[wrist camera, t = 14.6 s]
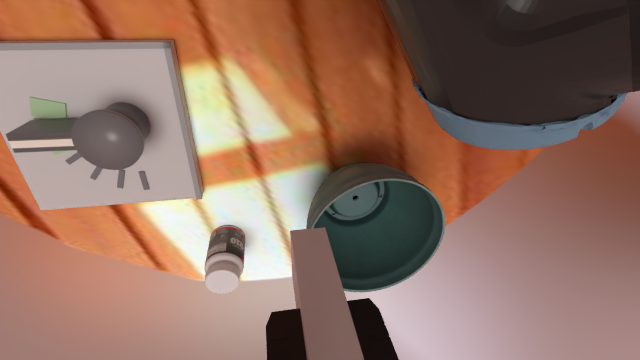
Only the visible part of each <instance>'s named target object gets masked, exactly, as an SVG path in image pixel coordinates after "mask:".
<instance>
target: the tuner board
mask: <svg viewBox="0 0 640 360" xmlns="http://www.w3.org/2000/svg"><path fill="white" fill-rule="evenodd" d="M29 97H35V98H40V99H46V100H51V101H56V102H62V103H66V107H67V119H79V118H80V117H81V116H83V115H84V114H86V113H88V112H90V111H93V110H99V109H105V108H107V107H108V106H109V105H111V104H114V103H119V102H124V103H129V104H132V105H134V106H136V107H138V108H139V109H141V110H142V111H143V112H144V113H145V115H146V116H147V117H148V120H149V122H150V133H149V135H148V136H147V138H146V139H145V140H144V151H143V153H142V155H141V157H140V158H139V159H138V161H137V162H136V163H135V164H133V165H132V166H130V167H128V168H125V169H121V170H125V177H124V186H123V189H122V188H117V182H118V172H119V170H108V169H102V171H101V172H100V174H99V176H98V177H97V179H96V180H93V179H91V178H90V176H91V175H92V173H93V171H94V170H95V168H96V167H97V166H95V165H93V164H91V163H90V162H88V161H87V160H85V159H84V158H83V157H81V158H79V159H78V160H76V161H75V162H73V163H72V164H70V165H69V164H68V163H67V162H66V161H65V160H67V159H68V158H70V157H71V156H73V155H74V154H76V153H77V150H71V151H67V152H64V153H61V154H57V155H54V154H53V153H52V151H45V152H21V153H14V151H13V149H12V147H11V145H10V143H9V141H8V139H7V137H6V135H5V134H7V133H9V132H10V131H12V130H14V129H16V128H18V127H20V126H21V125H23V124H25V123H27V122H29V121H30V120H33V118H41V117H36V116H31V109H30V102H29ZM0 132H1V134H2V136H3V138H4V140H5V142H6V144H7V145H8V147H9V149H10V151H11V153H12V155H13V157H14V159H15V161H16V163H17V165H18V167H19V169H20V171H21V173H22V175H23V176H24V178H25V180H26V182H27V184H28V186H29V188H30V190H31V192H32V194H33V196H34V198H35V200H36V202H37V204H38V206H39V207H40V209H41V210H51V209H63V208H76V207H88V206H101V205H113V204H126V203H138V202H151V201H163V200H176V199H188V198H196V199H202V196H203V192H204V190H203V185H202V180H201V175H200V170H199V165H198V160H197V155H196V150H195V145H194V140H193V135H192V130H191V125H190V120H189V115H188V110H187V105H186V100H185V95H184V90H183V85H182V80H181V75H180V70H179V65H178V60H177V55H176V50H175V45H174V40H173V39H172V40H43V41H0ZM139 171H145V174H146V178H147V181H148V184H149V188H150V189H149V190H144V189H143V185H142V182H141V179H140V176H139V173H138V172H139Z"/></svg>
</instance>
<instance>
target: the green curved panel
mask: <svg viewBox="0 0 640 360" xmlns="http://www.w3.org/2000/svg"><path fill="white" fill-rule="evenodd" d="M29 102H30V109H31V116H36V117H41V118H33V120H52V119H67V107H66V103H62V102H56V101H51V100H46V99H40V98H35V97H29ZM68 151H71V150H68ZM64 152H67V151H52V153H53V154H54V155H57V154H61V153H64ZM81 157H82V156H81V155H80V154H79V153H78V152H77V153H76V154H74V155H73V156H71V157H70V158H68V159H67V160H65V161H66V162H67V163H68V164H69V165H70V164H72V163H73V162H75V161H76V160H78V159H79V158H81ZM102 169H103V168H100V167H96V168H95V170H94V171H93V173H92V175H91V176H90V178H91V179H93V180H96V179H97V177H98V176H99V174H100V172H101V171H102ZM138 173H139V176H140V179H141V182H142V185H143V189H144V190H149V189H150V188H149V184H148V181H147V178H146V174H145V171H139V172H138ZM124 177H125V170H119V172H118V182H117V188H122V189H123V186H124Z"/></svg>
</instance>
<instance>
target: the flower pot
mask: <svg viewBox="0 0 640 360" xmlns="http://www.w3.org/2000/svg"><path fill="white" fill-rule="evenodd" d="M380 195H381V197H380ZM353 196H357V197H358V198H357V199H353ZM334 212H335V213H334ZM332 213H334V214H332ZM323 227H325V229H326V232H327V236H328V239H329V242H330V246H331V249H332V253H333V256H334V259H335V263H336V266H337V270H338V273H339V276H340V280H341V283H342V286H343V290H344V291H349V292H371V291H376V290H381V289H385V288H388V287H391V286H394V285H396V284H398V283H400V282H402V281H404V280H406V279H408V278H409V277H411V276H413V275H414V274H415V273H417V272H418V271H419V270H421V268H423V267H424V266H425V265H426V264H427V262H428V261H429V260H430V259H431V258H432V257H433V256H434V254H435V253H436V251H437V249H438V247H439V245H440V243H441V241H442V238H443V235H444V230H445V215H444V210H443V208H442V205H441V203H440V201H439V200H438V198H437V197H436V196H435V195H434V194H433V193H432V192H431V191H430V190H429V189H428V188H427V187H425V186H424V185H423V184H421V183H419V182H418V181H417V180H416V179H414V178H413V177H412V176H410V175H408V174H407V173H405V172H403V171H401V170H399V169H397V168H394V167H391V166H388V165H383V164H378V163H354V164H348V165H345V166H343V167H341V168H339V169H337V170H335V171H334V172H333V173H332V174H331V175H330V176H329V177H328V178H327V179H326V181H325V182H324V183H323V184H322V185H321V187H320V188H319V190H318V191H317V193H316V195H315V196H314V199H313V201H312V203H311V206H310V210H309V214H308V219H307V229H313V228H323Z"/></svg>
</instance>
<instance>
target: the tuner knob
mask: <svg viewBox="0 0 640 360" xmlns="http://www.w3.org/2000/svg"><path fill="white" fill-rule="evenodd" d="M149 133H150V122H149V120H148V117H147V116H146V115H145V113H144V112H143V111H142V110H141V109H139V108H138V107H136V106H134V105H132V104H129V103H124V102H119V103H114V104H111V105H109V106H108V107H107V108H105V109H99V110H93V111H90V112H88V113H86V114H84V115H83V116H81V117H80V118H79V119H52V120H30V121H29V122H27V123H25V124H23V125H21V126H20V127H18V128H16V129H14V130H12V131H10V132H9V133H7V134H5V135H6V137H7V139H8V141H9V143H10V145H11V147H12V149H13V151H14V153H21V152H45V151H68V150H77V152H78V153H79V154H80V155H81V156H82V157H83V158H84V159H85V160H87V161H88V162H90V163H91V164H93V165H95V166H97V167H100V168H103V169H108V170H121V169H125V168H128V167H130V166H132V165H133V164H135V163H136V162H137V161H138V159H139V158H140V157H141V155H142V153H143V151H144V140H145V139H146V138H147V136H148V135H149Z"/></svg>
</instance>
